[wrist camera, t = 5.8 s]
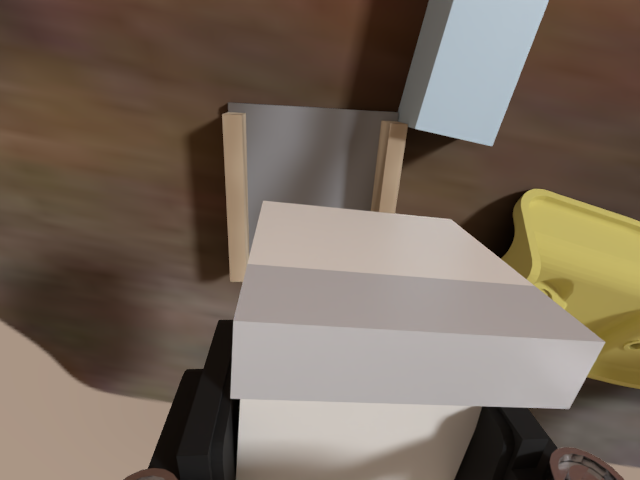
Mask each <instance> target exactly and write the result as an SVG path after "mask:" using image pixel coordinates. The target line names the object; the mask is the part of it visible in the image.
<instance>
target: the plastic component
mask: <svg viewBox="0 0 640 480" xmlns="http://www.w3.org/2000/svg"><path fill="white" fill-rule="evenodd" d="M513 220H514V226H515V235H514V240H513V242H512V245H511V247H510V249H509V250H508V252H507V253H506V254H505V255H504V256H503V257H502V258H501V259H502V260H503V261H504V262H505V263H507V264H508V265H509V266H510V267H512V268H513V269H514V270H515V271H517V272H518V273H519V274H520V275H522V276H523V277H524V278H525V279H527V280H528V281H529V282H531V283H532V284H533V285H534V286H536V287H537V288H538V289H539V290H541V291H542V292H543V293H544V294H546V295H547V296H548V297H549V298H551V299H552V300H553V301H554V302H556V303H557V304H558V305H559V306H561V307H562V308H563V309H564V310H566V311H567V312H568V313H570V314H571V315H572V316H573V317H575V318H576V319H577V320H578V321H580V322H581V323H582V324H583V325H585V326H586V327H587V328H588V329H590V330H591V331H592V332H593V333H595V334H596V335H597V336H598V337H600V338H601V339H602V340H603V341H605V344H604V346H603V348H602V350H601V351H600V353H599V355H598V357H597V359H596V361H595V362H594V364H593V366H592V368H591V370H590V372H589V374H588V375H587V377H588V378H592V379H596V380H600V381H604V382H608V383H612V384H616V385H621V386H626V387H632V388H638V389H640V222H639V221H637V220H634V219H632V218H629V217H626V216H623V215H620V214H617V213H614V212H611V211H608V210H605V209H601V208H598V207H595V206H592V205H589V204H586V203H583V202H580V201H577V200H574V199H571V198H568V197H565V196H562V195H559V194H556V193H553V192H550V191H547V190H544V189H532V190H529V191H527V192H526V193H525V194H524V195H523V196H522V197H521V198H520V199H519V200H518V201H517V202H516V204H515V206H514V209H513Z"/></svg>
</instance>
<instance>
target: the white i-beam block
mask: <svg viewBox="0 0 640 480" xmlns="http://www.w3.org/2000/svg"><path fill="white" fill-rule="evenodd" d="M604 344H605V341H603V340H602V339H601V338H600V337H598V336H597V335H596V334H595V333H593V332H592V331H591V330H590V329H588V328H587V327H586V326H585V325H583V324H582V323H581V322H580V321H578V320H577V319H576V318H575V317H573V316H572V315H571V314H570V313H568V312H567V311H566V310H564V309H563V308H562V307H561V306H559V305H558V304H557V303H556V302H554V301H553V300H552V299H551V298H549V297H548V296H547V295H546V294H544V293H543V292H542V291H541V290H539V289H538V288H537V287H536V286H534V285H533V284H532V283H531V282H529V281H528V280H527V279H525V278H524V277H523V276H522V275H520V274H519V273H518V272H517V271H515V270H514V269H513V268H512V267H510V266H509V265H508V264H507V263H505V262H504V261H503V260H502V259H500V258H499V257H498V256H497V255H495V254H494V253H493V252H491V251H490V250H489V249H488V248H486V247H485V246H484V245H483V244H481V243H480V242H479V241H478V240H476V239H475V238H474V237H473V236H471V235H470V234H469V233H468V232H466V231H465V230H464V229H463V228H461V227H460V226H459V225H458V224H456V223H455V222H454V221H452V220H451V219H443V218H433V217H423V216H413V215H403V214H393V213H383V212H373V211H363V210H353V209H343V208H333V207H323V206H313V205H303V204H293V203H282V202H272V201H263V203H262V207H261V211H260V215H259V219H258V223H257V227H256V231H255V235H254V239H253V243H252V247H251V251H250V256H249V260H248V264H247V268H246V272H245V276H244V280H243V284H242V288H241V292H240V296H239V300H238V304H237V308H236V312H235V316H234V320H233V342H232V368H231V393H230V399H240V412H239V430H238V449H237V467H236V480H454V479H455V476H456V474H457V472H458V469H459V467H460V464H461V462H462V460H463V457H464V455H465V452H466V450H467V448H468V445H469V443H470V440H471V438H472V436H473V433H474V431H475V428H476V425H477V422H478V419H479V415H480V412H481V409H482V406H487V407H520V408H553V409H569V408H570V407H571V405H572V403H573V401H574V399H575V397H576V396H577V394H578V392H579V390H580V388H581V386H582V385H583V383H584V381H585V379H586V377H587V375H588V374H589V372H590V370H591V368H592V366H593V364H594V362H595V361H596V359H597V357H598V355H599V353H600V351H601V350H602V348H603V346H604Z"/></svg>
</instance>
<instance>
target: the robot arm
mask: <svg viewBox="0 0 640 480" xmlns="http://www.w3.org/2000/svg"><path fill="white" fill-rule="evenodd" d="M232 342H233V320H219V321H218V324H217V327H216V330H215V333H214V337H213V340H212V343H211V346H210V350H209V353H208V356H207V359H206V363H205V366H204V369H187V370H186V371H185V372H184V374H183V376H182V379H181V382H180V384H179V387H178V390H177V392H176V395H175V398H174V400H173V403H172V406H171V409H170V411H169V414H168V416H167V419H166V422H165V425H164V427H163V430H162V432H161V435H160V438H159V440H158V443H157V446H156V449H155V451H154V454H153V457H152V459H151V462H150V465H149V467H148V469H145V470H141V471H139V472H136V473H134V474H132V475H130V476H128V477H126V478H125V479H124V480H236V467H237V449H238V430H239V412H240V399H230V393H231V368H232ZM454 480H624V479H623V478H622V476H620V475H619V474H618V473H617V472H616V471H615V470H614V469H613V468H612V467H611V466H610V465H608V464H607V463H605V462H604V461H603V460H601V459H600V458H598V457H596V456H594V455H592V454H590V453H589V452H586V451H583V450H580V449H577V448H570V447H563V448H559V449H558V448H557V447H556V446H555V444H554V443H553V442H552V440H551V439H550V438H549V436H548V435H547V434H546V432H545V431H544V430H543V428H542V427H541V426H540V424H539V423H538V422H537V420H536V419H535V418H534V416H533V415H532V414H531V412H530V411H529V410H528V408H520V407H487V406H482V409H481V412H480V415H479V419H478V422H477V425H476V428H475V431H474V433H473V436H472V438H471V440H470V443H469V445H468V448H467V450H466V452H465V455H464V457H463V460H462V462H461V464H460V467H459V469H458V472H457V474H456V476H455V479H454Z"/></svg>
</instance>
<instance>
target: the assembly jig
mask: <svg viewBox="0 0 640 480" xmlns="http://www.w3.org/2000/svg"><path fill="white" fill-rule="evenodd" d="M398 116H399V113H398V112H386V111H368V110H351V109H334V108H317V107H299V106H282V105H265V104H248V103H230V102H229V103H228V112H227V113H224V114H222V123H223V144H224V164H225V185H226V205H227V225H228V246H229V266H230V282H243V280H244V276H245V272H246V268H247V264H248V260H249V256H250V251H251V247H252V243H253V239H254V235H255V231H256V227H257V223H258V219H259V215H260V211H261V207H262V203H263V201H272V202H282V203H293V204H303V205H313V206H323V207H333V208H343V209H353V210H363V211H373V212H383V213H393V214H395V210H396V203H397V196H398V189H399V183H400V176H401V169H402V162H403V156H404V149H405V142H406V135H407V128H408V124H405V123H401V122H398Z"/></svg>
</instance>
